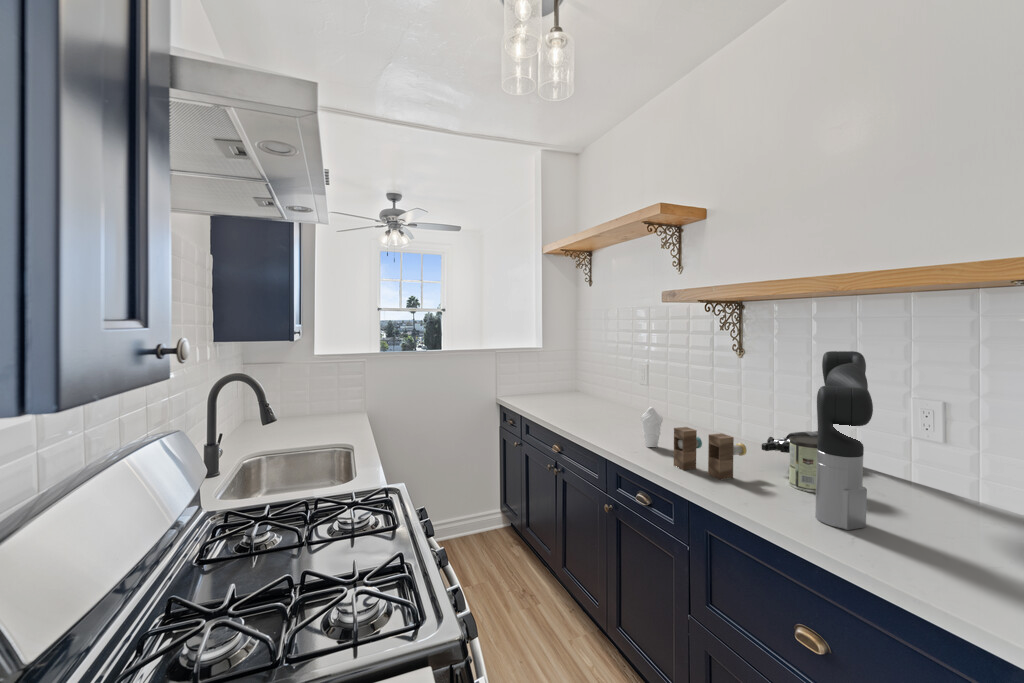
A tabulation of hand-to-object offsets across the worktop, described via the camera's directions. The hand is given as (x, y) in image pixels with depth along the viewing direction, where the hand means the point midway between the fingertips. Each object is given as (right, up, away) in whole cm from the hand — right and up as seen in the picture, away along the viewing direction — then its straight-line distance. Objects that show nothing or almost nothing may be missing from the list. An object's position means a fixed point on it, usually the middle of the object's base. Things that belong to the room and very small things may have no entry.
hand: (763, 447), depth 148 cm
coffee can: (+6, -9, -13) cm, 17 cm away
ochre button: (-12, -2, -3) cm, 12 cm away
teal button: (-22, -2, +5) cm, 23 cm away
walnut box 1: (-24, -8, +5) cm, 26 cm away
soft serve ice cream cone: (-27, -7, +30) cm, 41 cm away
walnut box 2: (-16, -8, -4) cm, 19 cm away
